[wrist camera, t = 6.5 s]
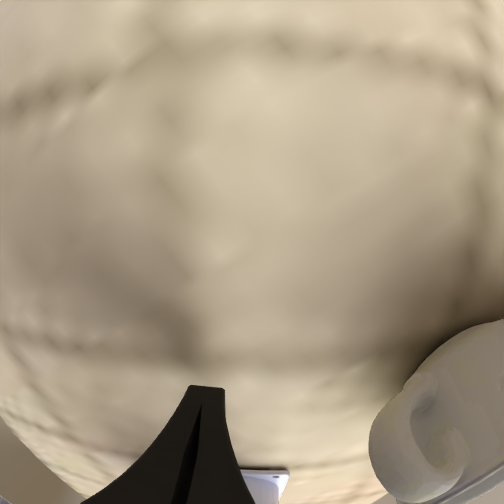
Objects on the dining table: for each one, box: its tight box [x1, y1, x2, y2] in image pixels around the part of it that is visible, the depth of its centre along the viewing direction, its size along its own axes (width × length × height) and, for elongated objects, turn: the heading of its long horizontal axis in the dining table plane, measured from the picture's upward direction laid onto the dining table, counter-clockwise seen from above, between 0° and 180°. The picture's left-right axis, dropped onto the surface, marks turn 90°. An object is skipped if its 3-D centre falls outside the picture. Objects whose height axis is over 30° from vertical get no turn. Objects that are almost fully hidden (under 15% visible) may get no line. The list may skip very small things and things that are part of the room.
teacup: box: [369, 319, 504, 504], centre depth 9 cm, size 14×11×8 cm
